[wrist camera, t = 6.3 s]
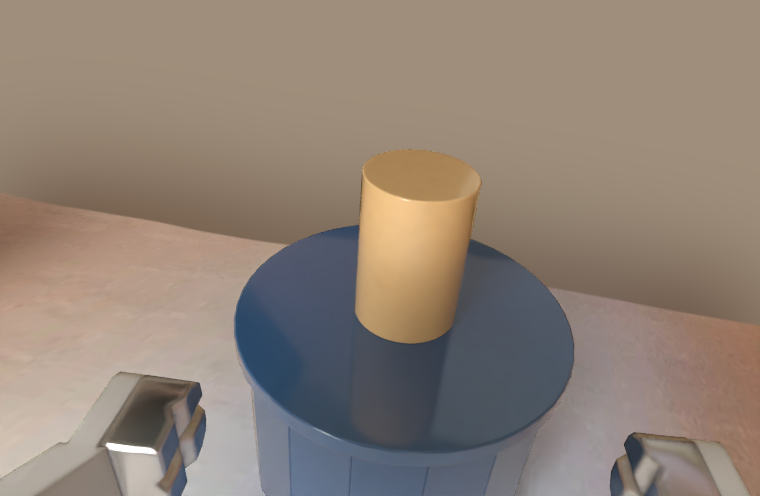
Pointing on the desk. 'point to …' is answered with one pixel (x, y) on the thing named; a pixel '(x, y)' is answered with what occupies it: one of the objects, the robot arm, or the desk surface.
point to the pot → (371, 468)
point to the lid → (405, 327)
